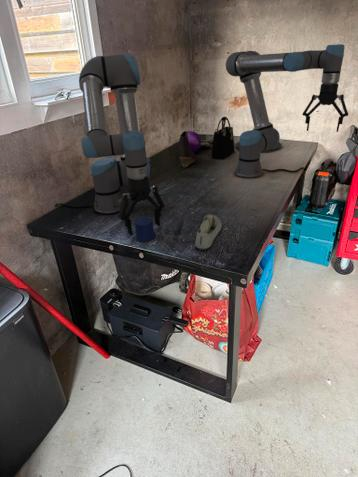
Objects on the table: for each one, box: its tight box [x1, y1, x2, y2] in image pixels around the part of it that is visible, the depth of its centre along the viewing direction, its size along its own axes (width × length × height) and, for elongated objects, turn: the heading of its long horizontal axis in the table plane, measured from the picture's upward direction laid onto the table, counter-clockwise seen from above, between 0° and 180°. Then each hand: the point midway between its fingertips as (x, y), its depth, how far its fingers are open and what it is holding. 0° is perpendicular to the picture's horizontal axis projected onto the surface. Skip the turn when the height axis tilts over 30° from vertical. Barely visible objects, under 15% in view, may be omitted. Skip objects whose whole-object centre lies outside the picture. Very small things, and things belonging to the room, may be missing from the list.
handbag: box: [211, 116, 236, 160], centre depth 219 cm, size 21×9×25 cm, turn 148°
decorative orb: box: [178, 130, 201, 154], centre depth 230 cm, size 15×15×15 cm
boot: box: [178, 130, 197, 169], centre depth 209 cm, size 9×24×20 cm, turn 168°
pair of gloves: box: [199, 134, 214, 149], centre depth 251 cm, size 30×26×5 cm
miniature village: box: [235, 141, 282, 154], centre depth 237 cm, size 32×35×9 cm
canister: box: [134, 216, 155, 243], centre depth 130 cm, size 7×7×7 cm
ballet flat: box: [194, 214, 223, 251], centre depth 128 cm, size 8×24×8 cm, turn 163°
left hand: (144, 229), depth 130 cm, fingers open, 11 cm apart
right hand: (322, 130), depth 162 cm, fingers open, 13 cm apart
